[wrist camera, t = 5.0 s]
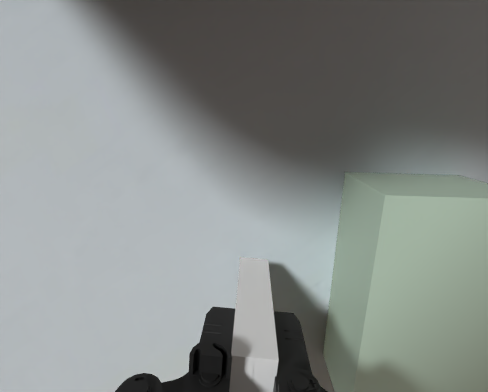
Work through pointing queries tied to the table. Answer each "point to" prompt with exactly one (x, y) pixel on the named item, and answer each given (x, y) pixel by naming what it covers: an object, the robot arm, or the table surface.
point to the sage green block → (409, 285)
